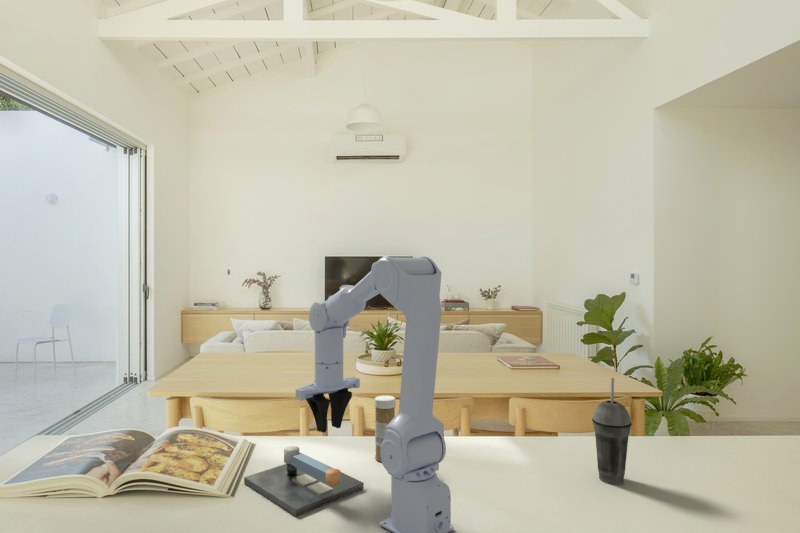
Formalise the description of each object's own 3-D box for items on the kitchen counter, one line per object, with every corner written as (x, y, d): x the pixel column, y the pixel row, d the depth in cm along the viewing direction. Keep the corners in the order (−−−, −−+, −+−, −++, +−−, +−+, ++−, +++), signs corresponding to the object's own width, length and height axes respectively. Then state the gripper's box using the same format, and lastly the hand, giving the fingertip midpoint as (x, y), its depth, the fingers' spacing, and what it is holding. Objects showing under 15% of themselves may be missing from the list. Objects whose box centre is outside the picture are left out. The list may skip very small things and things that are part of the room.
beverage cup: (589, 482, 101) (589, 380, 101) (594, 469, 107) (594, 373, 107) (629, 490, 97) (630, 385, 97) (632, 476, 104) (633, 377, 104)
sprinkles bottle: (399, 460, 112) (399, 398, 112) (381, 464, 109) (381, 401, 109) (388, 453, 116) (388, 393, 116) (370, 457, 113) (370, 396, 113)
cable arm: (344, 482, 92) (344, 468, 92) (330, 487, 90) (330, 473, 90) (294, 457, 104) (294, 445, 104) (281, 461, 102) (280, 448, 102)
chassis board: (363, 489, 98) (363, 471, 98) (296, 516, 87) (295, 496, 87) (308, 462, 111) (308, 446, 111) (244, 483, 100) (244, 465, 100)
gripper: (345, 354, 111) (345, 416, 112) (286, 363, 101) (286, 432, 101) (366, 358, 106) (366, 424, 107) (307, 369, 96) (307, 441, 96)
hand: (329, 429), depth 104 cm, fingers open, 3 cm apart
